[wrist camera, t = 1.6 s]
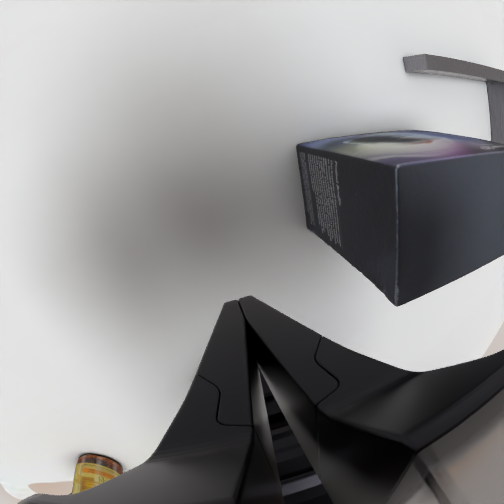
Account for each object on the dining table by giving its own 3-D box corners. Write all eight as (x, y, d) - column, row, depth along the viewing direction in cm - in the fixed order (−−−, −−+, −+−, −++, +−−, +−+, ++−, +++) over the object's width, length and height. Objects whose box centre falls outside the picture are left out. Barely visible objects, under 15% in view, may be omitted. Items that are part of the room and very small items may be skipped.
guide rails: (493, 227, 26) (508, 235, 24) (415, 260, 25) (433, 272, 22) (490, 71, 19) (508, 72, 16) (403, 57, 17) (424, 53, 15)
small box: (415, 124, 20) (528, 144, 10) (419, 202, 22) (518, 251, 13) (292, 139, 18) (399, 158, 9) (306, 232, 21) (395, 316, 12)
